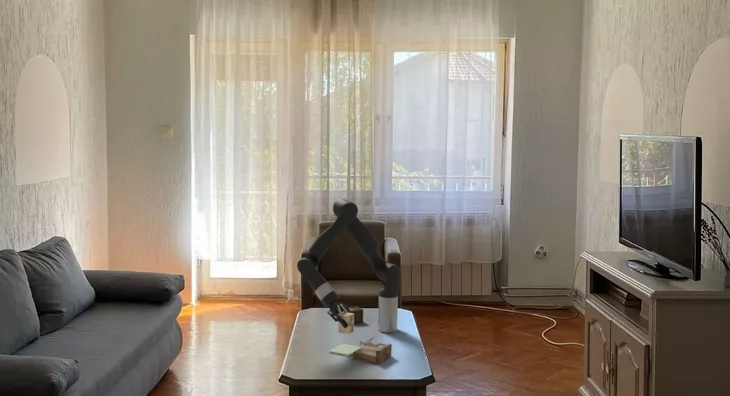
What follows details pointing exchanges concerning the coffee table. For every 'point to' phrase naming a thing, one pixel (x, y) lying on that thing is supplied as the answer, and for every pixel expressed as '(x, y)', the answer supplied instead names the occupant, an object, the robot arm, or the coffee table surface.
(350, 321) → the birch block
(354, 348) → the pad
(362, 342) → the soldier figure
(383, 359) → the walnut ledge
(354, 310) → the olive green cube
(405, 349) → the coffee table surface
